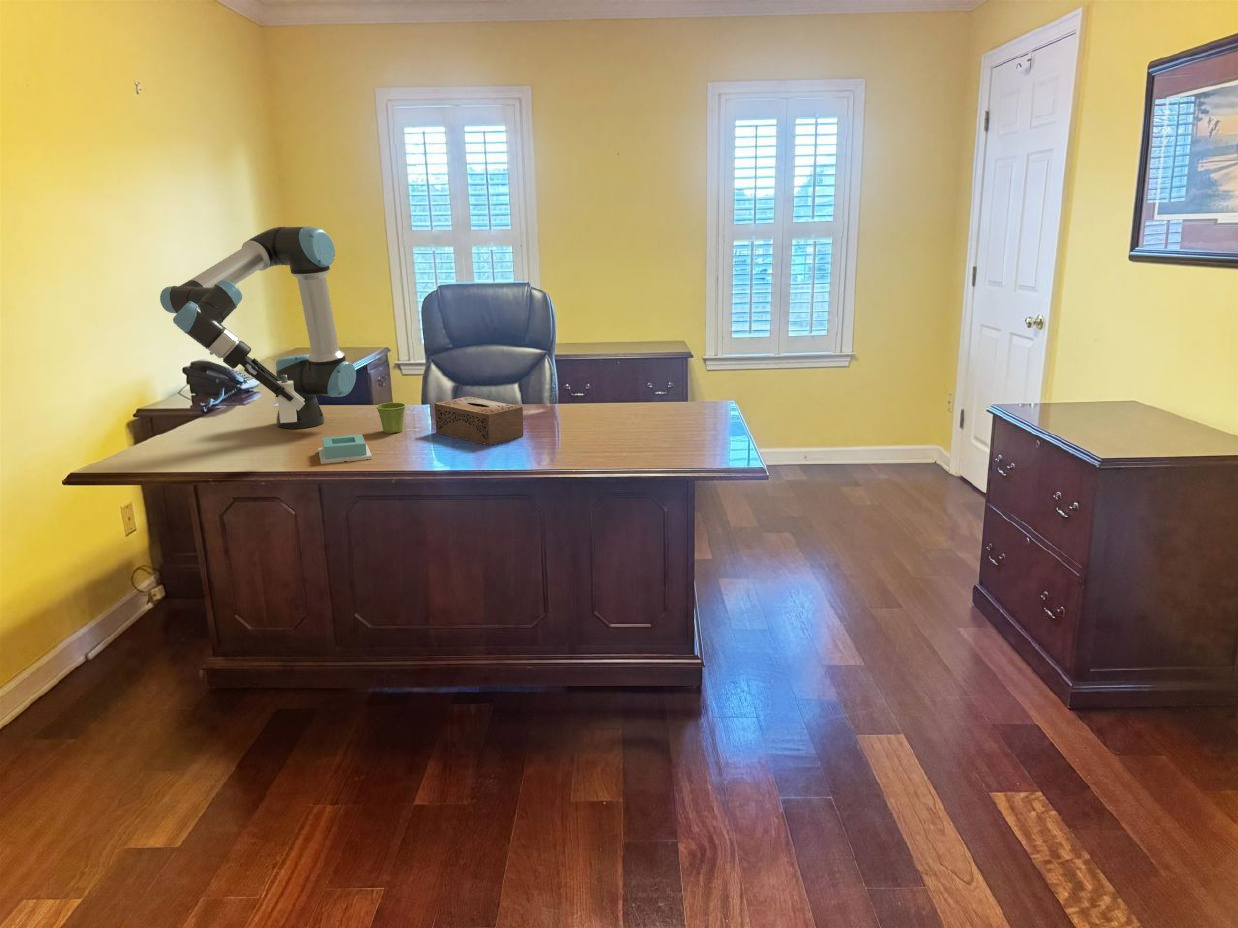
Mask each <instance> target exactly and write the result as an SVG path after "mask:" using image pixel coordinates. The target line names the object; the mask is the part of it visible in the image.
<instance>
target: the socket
mask: <svg viewBox="0 0 1238 928" xmlns="http://www.w3.org/2000/svg"><path fill="white" fill-rule="evenodd" d="M321 441H322V447H320V448H317V450H318V455H319V461H320V464H321V465H323V464H335V463H345V462H344V461H347V462H355V461H364V460H367V459H368V460H373V456H372V453H371V451H370V448H369V446H368V444H367V442H366V441H365V437H364V435H363V434H351V435H340V436H339V435H338V436H326V437H321Z"/></svg>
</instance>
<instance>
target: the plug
mask: <svg viewBox="0 0 1238 928" xmlns="http://www.w3.org/2000/svg"><path fill="white" fill-rule="evenodd" d="M276 382H278V383H279V384H280V385H281V386H282V387H284V388H286V389H288V390H289V391H290V392H291V393H293V394H294V386H293V381H287V375H281V381H276ZM276 398H277V406H278V409H279V416H280V423H288V422H297V414H296V408H294V407H293V406H292V405H290V404H289V403H288V402H286V401H285V400H284V399H283V398H281V397H280V396H278V397H276Z"/></svg>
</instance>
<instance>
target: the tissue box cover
mask: <svg viewBox="0 0 1238 928" xmlns="http://www.w3.org/2000/svg"><path fill="white" fill-rule="evenodd" d="M433 404H434V418H435V419H434V421H435V433H437V434H440V435H445V436H450V437H453V438H456V439H457V438H459V439H462V440H466V441H469V442H475V443H478V444H482V443H485V444H484V445H486V444H490V445H489V446H492V445H491V444H494V443H498V444H501V443H505V442H508V440H509V441H512V440H515V439H514V438H516V439H519V438H518V437H520V438H523V437H522V436H524V411H523V406H520V405H514V404H511V403H506V402H499V401H495V400H490V399H484V398H479V397H474V396H463V397H459V398H454V399H449V400H444V401H439V402H435V403H433ZM524 437H525V436H524ZM511 439H512V440H511ZM494 445H495V444H494Z"/></svg>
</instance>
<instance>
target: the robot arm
mask: <svg viewBox="0 0 1238 928" xmlns="http://www.w3.org/2000/svg"><path fill="white" fill-rule="evenodd" d="M335 256H336V249H335V244H334V242H333V240H332V238H331V236H330V234H328V233H327V232H326V231H325V230H324V229H322V228H319V227H314V226H313V227H312V226H277V227H272V228H270V229H267V230H265V231H263V232H260V233H259V234H256V235H254V236H253V237H251V238H250V239H247V240H246V241H244V242H243V243H242V245H241V248H240V249H238V250H237V251H235V252H234V253H232V254H230V255H229V256H226V257H225V258H223V259H222V260H220V261H219V262H217V263H216V264H213V265H212V266H210V267H209V268H207V269H206V270H204V271H202V272H201V273H199V274H197V275H195V276H194V277H192V278H190V279H189V280H187V281H186V282H184V283H182V284H180V285H172V286H166V287H165V288H163V289H162V290H161V291H160V295H159V301H160V304H161V306H162V308H163V309H164V311H166V312H168V313H170V314H175V315H174V316H173V318H172V322H173V324H174V325H176V327H178V329H180V330H181V331H182V332H183V333H184V334H187V336H189V337H190V338H191V339H193V340H194V341H196V342H197V343H198V344H199V345H201V346H203V347H204V349H206V350H208V351H209V355H210V356H213V355H214V356H216V357H217V358H218V359H222V362H223V363H224V364H225V365H227V366H228V367H229V368H231V369H233V370H235V369H236V368H237V367H238V366H241V367H242V368H244V369H243V371H244V372H245V373H246V374H247V375H249V376H251V378H254V379H255V380H256V381H257V382H259V383H260V384H262V386H264V387H265V388H266V389H268V390H269V391H271V392H272V393H273V394H274V395H275V396H274V397H275V398H277V397H278V396H280V397H281V398H283V399H284V400H285V401H286V402H288V403H289V404H290V405H292V406H293V407H294V408H296V414H297V422H288V423H280V416H279V408H278V410H277V415H276V421H275V422H276V426H277V427H279V428H282V429H306V428H311V427H317V426H320V425H323V424H324V423H325V415H324V413H323V410H322V409H321V406H320V404H319V402H318V399H317V396H324V397H331V398H335V397H345V396H347V395H349V394H350V393H351V391H352V390H353V388H354V386H355V383H356V380H357V372H356V368H355V365H353V363H352V362H350V361H347V360H346V354H345V351H342V350H341V349H340V348H339V341H338V337H337V330H336V325H335V324H336V323H335V320H334V313H333V307H332V303H331V301H332V300H331V297H330V289H329V284H328V280H327V275H328V274H329V272H330V271H331V268H330V266H331V265H332V264H333V263H334V260H335V258H334V257H335ZM276 266H277V267H278V266H289V268H290V269H289V270H290V274H291V275H292V276H294V277H295V278H296V280H297V284H298V290H299V293H300V294H299V296H300V300H301V304H302V305H301V306H302V309H303V316H304V320H305V321H304V322H305V325H306V331H307V335H308V342H309V346H310V352H311V353H309V354H308V353H306V354H303V353H302V354H297V355H289V356H285V357H281V358H278V359H277V360H276V362H275V368H276V369H275V373H276V374H274V373H273V372H272V371H270V369H268V368H267V367H266V366H264V365H263V364H262V363H261V362H259V360H258V359H257V358H255V357H254V358H252V357H250V356H249V354H250V353H251V352H252V347H250V346H249V345H248V344H247V343H246V342H244V341H243V340H239V337H238V336H237V335H236V334H234V333H233V332H232V331H231V330H229V329H228V328H227V327H225V326H224V325H223V324H222V323H223V322H224V321H225V320H226V319H227V318H228V317H229V316H230V314H232V313H233V312H234V311H235V310H236V309H237V308H238V307H237V306H239V304H240V303H241V301H242V300H243V293H242V292H241V290H240V288H239V286H237V284H239V283H240V282H242V281H243V280H245V279H246V278H249V276H252V274H254V273H256V272H257V271H262V272H263V271H266V270H267V269H269V268H270V267H276ZM281 375H287V381H293V386H294V394H293V393H291V392H290V391H289V390H288V389H286V388H284V387H282V386H281V385H280V384H279V383H278V382H276V381H281Z"/></svg>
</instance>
